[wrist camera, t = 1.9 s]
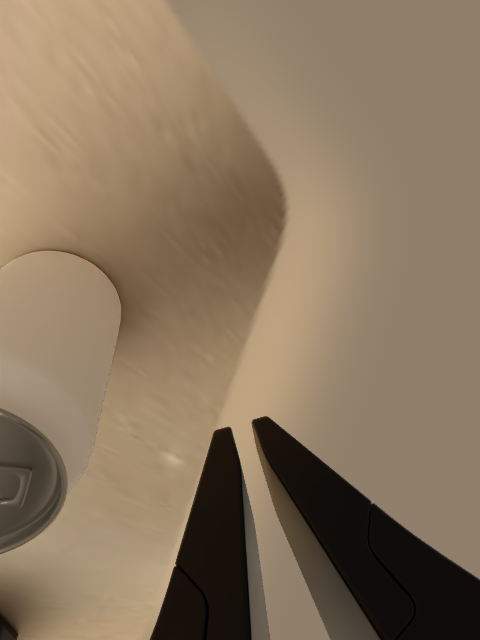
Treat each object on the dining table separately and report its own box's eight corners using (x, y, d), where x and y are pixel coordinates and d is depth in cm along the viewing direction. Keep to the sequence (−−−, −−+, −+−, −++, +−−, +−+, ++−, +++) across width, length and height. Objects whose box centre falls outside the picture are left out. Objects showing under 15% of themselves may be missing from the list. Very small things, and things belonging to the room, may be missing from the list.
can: (5, 228, 18) (-232, 347, 7) (137, 272, 20) (113, 414, 9) (-18, 340, 20) (-227, 567, 9) (104, 369, 22) (54, 578, 11)
